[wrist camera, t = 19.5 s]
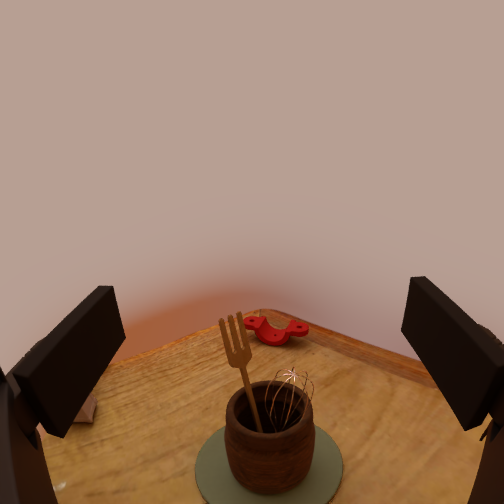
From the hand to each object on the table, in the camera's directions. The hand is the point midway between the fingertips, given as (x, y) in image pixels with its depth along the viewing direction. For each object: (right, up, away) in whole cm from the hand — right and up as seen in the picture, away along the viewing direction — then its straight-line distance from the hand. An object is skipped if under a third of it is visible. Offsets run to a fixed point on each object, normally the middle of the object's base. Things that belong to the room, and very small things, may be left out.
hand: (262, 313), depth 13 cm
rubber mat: (+1, -14, +6) cm, 15 cm away
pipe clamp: (+2, -6, +23) cm, 24 cm away
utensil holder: (+1, -13, +6) cm, 14 cm away
